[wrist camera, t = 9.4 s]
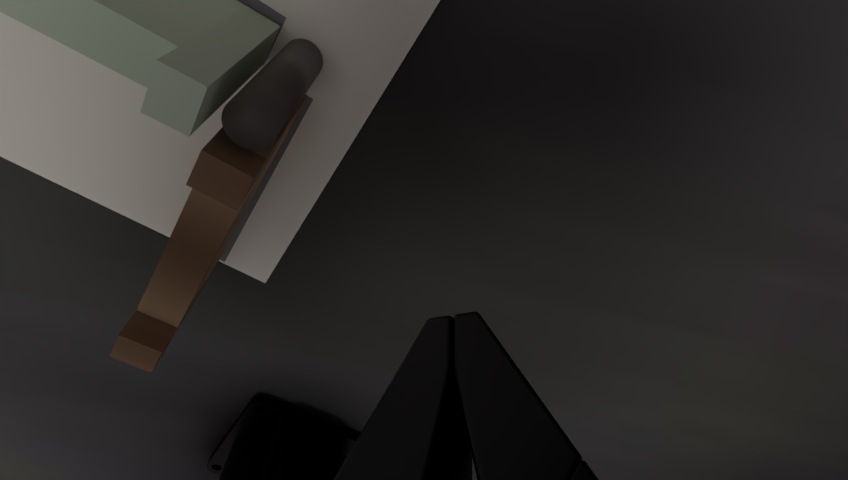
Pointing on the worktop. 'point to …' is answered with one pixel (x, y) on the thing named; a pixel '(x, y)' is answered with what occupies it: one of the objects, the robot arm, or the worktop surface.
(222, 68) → the fence panel
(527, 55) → the worktop surface
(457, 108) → the worktop surface
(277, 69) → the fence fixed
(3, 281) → the worktop surface
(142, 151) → the card
